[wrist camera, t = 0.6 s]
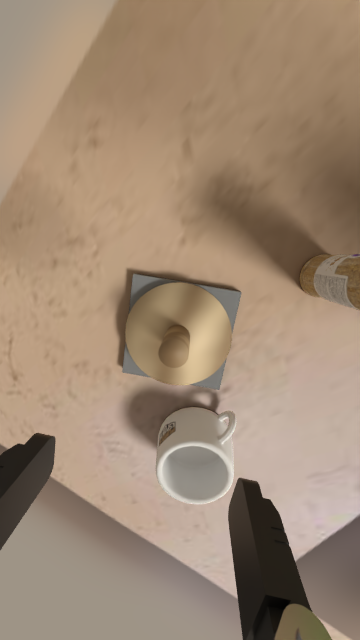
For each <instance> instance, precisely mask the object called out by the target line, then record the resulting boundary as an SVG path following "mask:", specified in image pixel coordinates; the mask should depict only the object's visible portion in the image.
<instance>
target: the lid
mask: <svg viewBox="0 0 360 640" xmlns="http://www.w3.org/2000/svg"><path fill="white" fill-rule="evenodd" d="M125 338H126V344H127V348H128V350H129V353H130V355H131V357H132V359H133V360H134V362H135V363H136V365H137V366H138V367H139V368H140V369H141V370H142V371H143V372H144V373H146V374H147V375H148V376H150V377H151V378H153V379H155V380H157V381H160V382H163V383H166V384H171V385H188V384H193V383H197V382H199V381H202V380H204V379H206V378H208V377H209V376H211V375H212V374H214V373H215V372H216V371H217V370H218V369H219V368H220V367H221V365H222V364H223V363H224V361H225V359H226V358H227V355H228V353H229V350H230V347H231V341H232V330H231V324H230V320H229V318H228V315H227V313H226V311H225V309H224V308H223V306H222V305H221V303H220V302H219V301H218V300H217V299H216V298H215V297H214V296H213V295H212V294H211V293H209V292H208V291H206V290H205V289H203V288H201V287H198V286H196V285H193V284H188V283H181V282H177V283H167V284H163V285H160V286H157V287H155V288H153V289H151V290H150V291H148V292H147V293H145V294H144V295H143V296H142V297H140V298H139V300H138V301H137V302H136V303H135V304H134V306H133V307H132V309H131V311H130V313H129V315H128V318H127V322H126V327H125Z"/></svg>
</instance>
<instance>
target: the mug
mask: <svg viewBox="0 0 360 640" xmlns="http://www.w3.org/2000/svg"><path fill="white" fill-rule="evenodd" d="M226 418H229V425H227V424H226V422H225V421H224V420H225V419H226ZM236 422H237V420H236V416H235V414H234V413H233V412H232V411H225V412H223V413H221V414H220V415H217V414H216V413H214V412H212V411H210V410H207V409H204V408H198V407H189V408H183V409H180V410H178V411H175V412H173V413H172V414H171V415H169V416H168V417H167V418H166V419H165V421H164V422H163V423H162V425H161V428H160V431H159V434H158V443H157V458H156V475H157V479H158V482H159V484H160V485H161V487H162V488H163V490H164V491H165V492H166V493H167V494H169V495H170V496H171V497H173V498H175V499H177V500H178V501H182V502H185V503H189V504H205V503H209V502H212V501H215V500H217V499H219V498H220V497H222V496H223V495H224V494H225V493H226V492H227V491H228V490H229V488H230V486H231V484H232V482H233V476H234V461H233V441H232V436H231V435H232V434H233V432H234V430H235V427H236Z"/></svg>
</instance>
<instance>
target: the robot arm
mask: <svg viewBox="0 0 360 640" xmlns="http://www.w3.org/2000/svg"><path fill="white" fill-rule="evenodd" d="M54 453H55V437H54V436H50V435H45V434H41V433H36V434H34V435H33V436H32V437H31V438H30V439H29V440H28V441H27V442H26V444H25V445H23V444H17V445H15V446H13V447H12V448H10V449H8V450H7V451H5V452H3V453H2V454H1V455H0V550H1V548H2V547H3V545H4V544H5V543H6V541H7V539H8V538H9V537H10V535H11V534H12V532H13V531H14V529H15V528H16V526H17V525H18V523H19V522H20V520H21V519H22V517H23V516H24V514H25V513H26V512H27V510H28V509H29V507H30V505H31V504H32V503H33V501H34V500H35V498H36V497H37V495H38V494H39V492H40V491H41V489H42V488H43V486H44V485H45V483H46V482H47V480H48V479H49V477H50V474H51V472H52V469H53V465H54ZM228 521H229V530H230V538H231V546H232V554H233V562H234V571H235V579H236V587H237V595H238V603H239V611H240V619H241V628H242V636H243V640H332V639H331V637H330V635H329V633H328V632H327V630H326V628H325V627H324V625H323V624H322V623H321V621H320V620H319V619H318V618H317V617H316V616H315V614H313V612H312V610H311V608H310V605H309V603H308V600H307V597H306V594H305V591H304V588H303V585H302V582H301V579H300V576H299V572H298V569H297V566H296V563H295V560H294V557H293V554H292V551H291V548H290V547H289V542H288V539H287V536H286V533H285V532H284V527H283V524H282V520H281V517H280V514H279V513H278V511H277V510H276V508H275V506H274V505H273V503H272V502H271V500H270V499H265V498H263V497H262V493H261V490H260V486H259V484H258V482H257V481H252V480H248V479H243V478H238V480H237V483H236V486H235V489H234V492H233V495H232V499H231V502H230V505H229V513H228Z"/></svg>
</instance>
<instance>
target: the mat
mask: <svg viewBox="0 0 360 640" xmlns="http://www.w3.org/2000/svg"><path fill="white" fill-rule="evenodd" d="M177 282H181V283H188V282H182V281H176V280H171V279H165V278H159V277H153V276H147V275H141V274H133V279H132V288H131V297H130V307H129V313H130V311H131V309H132V307H133V306H134V304H135V303H136V302H137V301H138V300H139V298H140V297H142V296H143V295H144V294H145V293H147V292H148V291H150V290H151V289H153V288H155V287H157V286H160V285H163V284H167V283H177ZM188 284H193V285H196V286H198V287H201V288H203V289H205V290H206V291H208V292H209V293H211V294H212V295H213V296H214V297H215V298H216V299H217V300H218V301H219V302H220V303H221V305H222V306H223V308H224V309H225V311H226V313H227V315H228V318H229V320H230V324H231V330H232V332H233V327H234V323H235V319H236V314H237V310H238V306H239V301H240V297H241V292H240V291H236V290H230V289H224V288H218V287H212V286H206V285H200V284H194V283H188ZM225 363H226V359H225V361H224V363H223V364H222V365H221V367H220V368H219V369H218V370H217V371H216V372H215V373H214V374H212V375H211V376H209V377H208V378H206V379H204V380H202V381H199V382H197V383H193V384H190V385H195V386H201V387H206V388H212V389H217V390H219V389H220V385H221V380H222V376H223V371H224V367H225ZM122 372H123V373H129V374H134V375H140V376H145V377H150V376H148V375H147V374H146V373H144V372H143V371H142V370H141V369H140V368H139V367H138V366H137V365H136V363H135V362H134V360H133V359H132V357H131V355H130V353H129V350H128V348H127V344H125V353H124V362H123V371H122Z"/></svg>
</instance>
